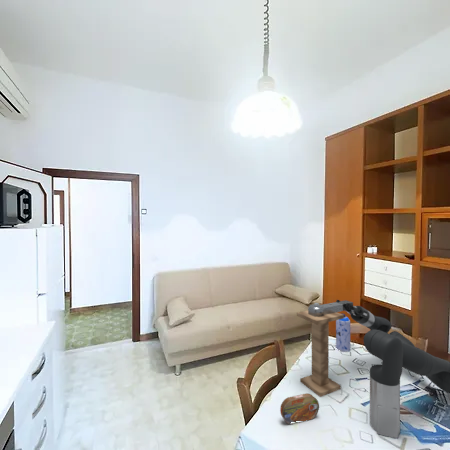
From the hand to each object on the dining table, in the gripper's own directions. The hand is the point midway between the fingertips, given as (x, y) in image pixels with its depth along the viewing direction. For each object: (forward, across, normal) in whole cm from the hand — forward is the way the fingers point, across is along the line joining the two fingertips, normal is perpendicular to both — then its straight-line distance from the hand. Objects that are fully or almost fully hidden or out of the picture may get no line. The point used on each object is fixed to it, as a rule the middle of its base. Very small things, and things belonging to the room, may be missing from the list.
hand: (341, 303), depth 126 cm
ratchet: (+4, 0, -6) cm, 7 cm away
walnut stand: (-6, 0, -37) cm, 37 cm away
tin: (+14, -12, -48) cm, 52 cm away
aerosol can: (-39, +20, -18) cm, 47 cm away
